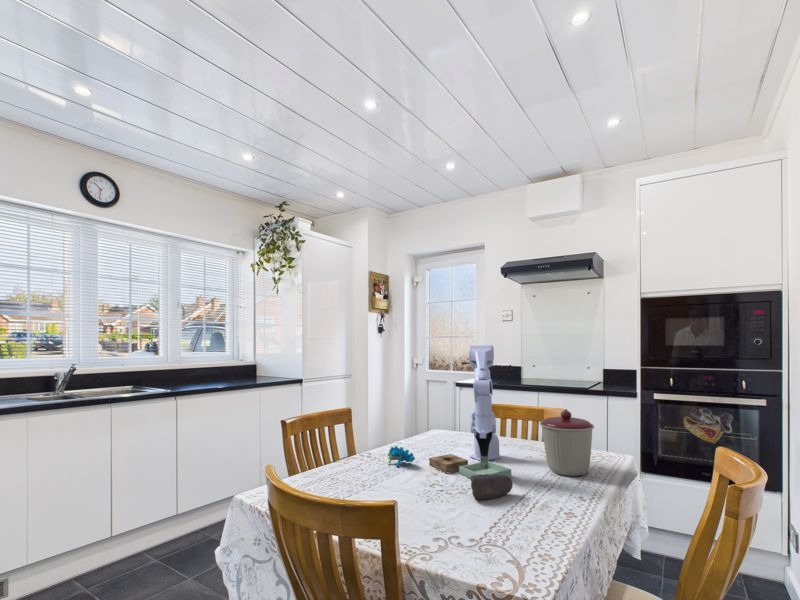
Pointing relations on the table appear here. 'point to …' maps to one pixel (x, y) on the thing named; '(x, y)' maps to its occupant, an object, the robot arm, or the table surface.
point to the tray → (484, 470)
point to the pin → (484, 462)
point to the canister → (567, 444)
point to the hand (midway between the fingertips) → (484, 454)
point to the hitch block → (447, 462)
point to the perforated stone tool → (490, 486)
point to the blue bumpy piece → (400, 455)
